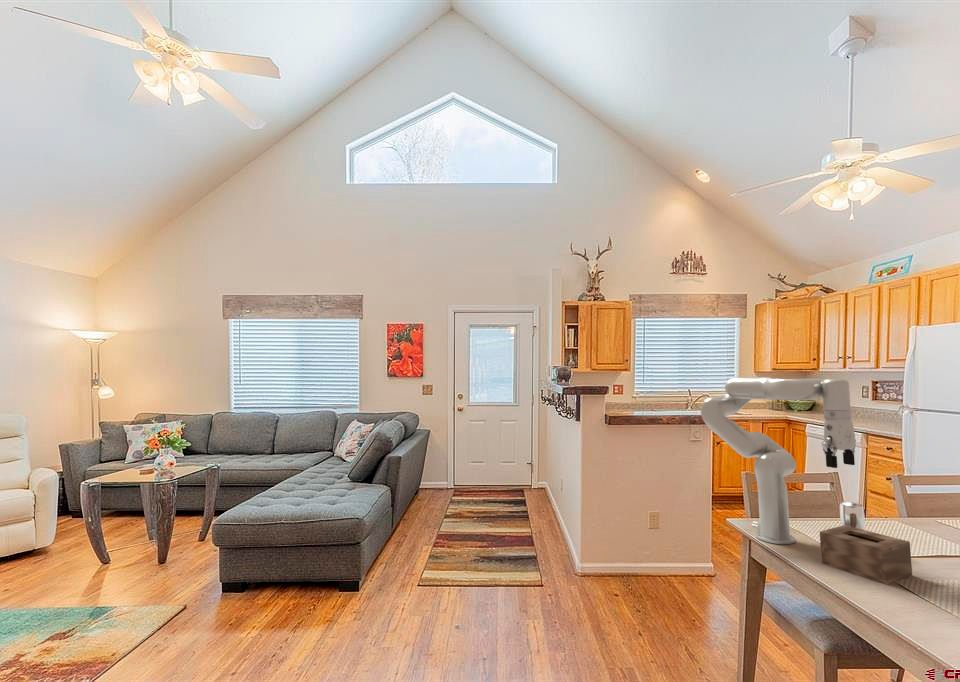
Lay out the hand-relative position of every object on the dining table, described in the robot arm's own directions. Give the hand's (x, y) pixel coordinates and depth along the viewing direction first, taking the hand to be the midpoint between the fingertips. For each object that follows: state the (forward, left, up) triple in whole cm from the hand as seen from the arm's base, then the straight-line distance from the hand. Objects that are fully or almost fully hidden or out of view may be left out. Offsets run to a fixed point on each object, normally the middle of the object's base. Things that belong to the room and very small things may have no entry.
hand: (840, 465), depth 163 cm
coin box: (+8, -5, -30) cm, 32 cm away
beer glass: (-4, +12, -31) cm, 33 cm away
